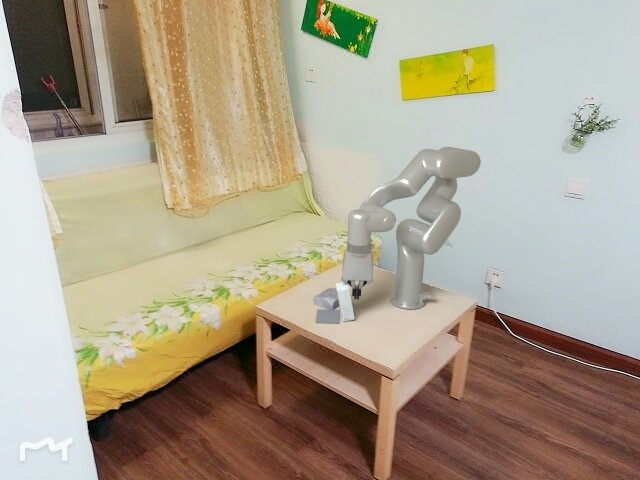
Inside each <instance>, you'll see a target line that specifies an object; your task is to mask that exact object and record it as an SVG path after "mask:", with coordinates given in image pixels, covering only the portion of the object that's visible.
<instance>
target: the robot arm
mask: <svg viewBox="0 0 640 480" xmlns="http://www.w3.org/2000/svg"><path fill="white" fill-rule="evenodd" d="M481 162H482V161H481V156H480V155H479V154H478V152H476V151H473V150H470V149H464V148H458V147H452V146H443V147H441V148H439V149H438V150H437V149H434V148H423V149H421V150H420V151H419V152H417V154H416V155H415V156H414V157H413V158H412V159H411V160H410V162H409V163H408V164H407V166H405V168H404V169H403V170H402V171H401V172H400V173H399V175H398V176H397V177H396V178H395V179H392V180H391V181H390V180H389V181H388V182H386V183H384V184H383V185H381V186H379V187H378V188H376V189H374V190H373V191H372V192H371V193H370V194H369V195H368V196H367V197H366V198H365V199H364V201H363V202H362V203H361V204H360V206H359V208H357V209H353V210H351V211H349V213H348V216H347V218H348V219H347V223H348V224H347V240H346V241H347V243H346V245H347V246H346V249H344V253H343V259H342V268H341V269H342V270H341V271H342V276H341V279H340V281H341V283H342V282H344V283H348V286H350V287H351V297H353V299H354V300H357V301H358V300H360V297H362V289H363V288H364V287H365V286H366V285H369V284H373V283H374V278H373V277H374V255H373V250H372V249H376V248H375V246H376V245H375V244H373V243H371V241H372V240H371V239H372V233H386V232H390V231H391V230H393V229H394V227H395V226H396V224H397V217H396V215H395V213H394V212H393V211H391V210H390V209H387V208H385V207H384V206H386V205H387V204H388V203H391V202H392V201H396V200H401V199H407V198H411V197H415V196H416V195H417V194H418V193H419V192H420V190H422V188H423V187H424V186H425V184H426V183H427V182H428V181H429V180H430V179H431V178H432V177H434V181H433V183H432V185H431V186H430V188H429V189H428V190H427V192H426V193H425V195H424V196H423V197H422V199H421V200H420V201H419V203H418V205H417V207H416V210H415V211H416V215H417V216H418V218H420V219H421V220H423V221H425V222H427V223H430V224H427V223H425V222H422V221H420V220H417V219H414V218H406V219H403V220H401V221H400V222H399V223H398V225H397V227H396V231H395V237H396V238H395V239H396V245H397V247H396V248H397V256H396V257H397V258H396V260H397V261H396V271H395V272H396V273H395V274H396V275H395V289H394V293H392V294H391V296H390V299H389V300H390V303H391V304H392V305H393V306H395V307H397V308H400V309H403V310H418V309H421V308H422V307H424V306H425V304H426V300H430V301H431V300H432V301H433V300H435V294H432V293H431V291H423V280H424V279H423V277H424V269H425V268H424V267H425V255H429V256H430V255H434V254H437V252H438V251H440V249H442V247H443V246H444V245H445V243H446V242H447V240H448V239H449V237H450V236H451V235H452V233H453V232H454V231H455V229H456V228H457V227H458V225H459V223H460V220H461V216H462V210H461V207H460V205H459V203H457V202H455V201H452V200H453V198H454V196H455V194H456V193H457V190H458V179H459V178H467V177H472V176H473V175H475V174H476V173H477V172H478V171H479V170H480V167H481V164H482V163H481ZM357 281H358V284H356V282H357Z"/></svg>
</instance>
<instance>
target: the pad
mask: <svg viewBox="0 0 640 480" xmlns="http://www.w3.org/2000/svg"><path fill="white" fill-rule="evenodd" d="M340 316H341V311H340V309H334V310H329V309H325V308H321V309H318V308H317V310H316V317H315V324H328V325H329V324H332V325H339V324H340Z"/></svg>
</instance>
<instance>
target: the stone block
mask: <svg viewBox="0 0 640 480" xmlns="http://www.w3.org/2000/svg"><path fill="white" fill-rule="evenodd" d="M313 304H314V305H315V306H317V307H319V308H321V309H324V310H337V308H340V305H339V300H338V295H337V290H336V287H332V288H331V287H329V288H327V289H325V290H323V291H321V292H320V293H319V294H317V295H314V297H313Z"/></svg>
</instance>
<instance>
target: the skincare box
mask: <svg viewBox="0 0 640 480" xmlns="http://www.w3.org/2000/svg"><path fill="white" fill-rule="evenodd" d="M349 286H350V285H349V284H348V283H344V282H342V281H341V282H337V283H335V288H336V290H337V295H338V300H339V305H340V306H339V310H340V316H341V319H342V322H343V323H344V322H349V321H353V320H355V312H354V308H353V302H352V294H351V291H350V287H349Z"/></svg>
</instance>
